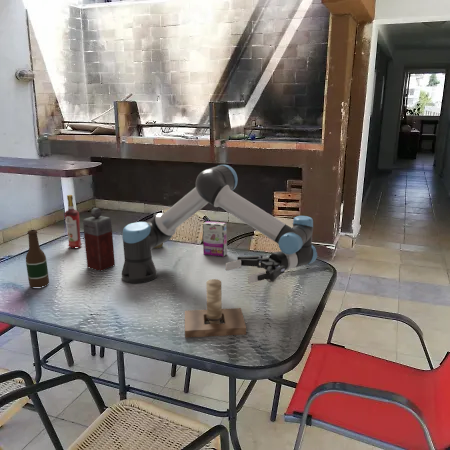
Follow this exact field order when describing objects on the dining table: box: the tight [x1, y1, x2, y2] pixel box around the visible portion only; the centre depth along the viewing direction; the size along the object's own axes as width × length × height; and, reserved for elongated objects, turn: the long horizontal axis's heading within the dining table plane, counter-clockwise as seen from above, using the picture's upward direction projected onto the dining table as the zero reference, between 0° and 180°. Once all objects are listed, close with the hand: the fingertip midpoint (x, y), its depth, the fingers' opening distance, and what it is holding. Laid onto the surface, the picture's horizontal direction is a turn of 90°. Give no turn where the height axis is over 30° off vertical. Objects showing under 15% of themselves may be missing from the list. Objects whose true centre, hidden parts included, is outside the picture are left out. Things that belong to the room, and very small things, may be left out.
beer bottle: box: [25, 229, 50, 288], centre depth 178 cm, size 8×8×24 cm
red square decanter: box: [82, 207, 116, 272], centre depth 198 cm, size 9×11×28 cm
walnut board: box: [184, 307, 247, 338], centre depth 148 cm, size 20×14×2 cm
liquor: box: [63, 194, 83, 249], centre depth 225 cm, size 7×7×28 cm
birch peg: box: [205, 278, 223, 324], centre depth 146 cm, size 5×5×16 cm
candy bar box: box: [202, 221, 228, 258], centre depth 214 cm, size 11×5×16 cm, turn 69°
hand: (237, 273), depth 151 cm, fingers open, 13 cm apart
